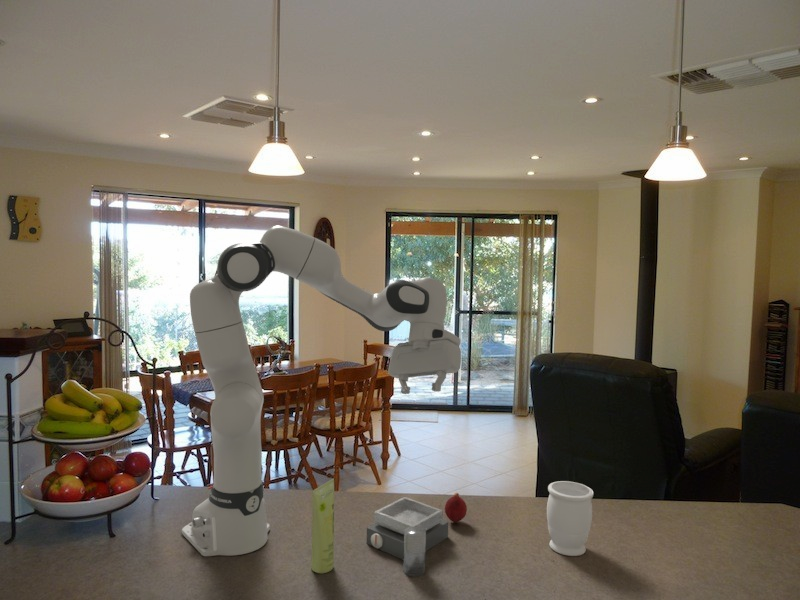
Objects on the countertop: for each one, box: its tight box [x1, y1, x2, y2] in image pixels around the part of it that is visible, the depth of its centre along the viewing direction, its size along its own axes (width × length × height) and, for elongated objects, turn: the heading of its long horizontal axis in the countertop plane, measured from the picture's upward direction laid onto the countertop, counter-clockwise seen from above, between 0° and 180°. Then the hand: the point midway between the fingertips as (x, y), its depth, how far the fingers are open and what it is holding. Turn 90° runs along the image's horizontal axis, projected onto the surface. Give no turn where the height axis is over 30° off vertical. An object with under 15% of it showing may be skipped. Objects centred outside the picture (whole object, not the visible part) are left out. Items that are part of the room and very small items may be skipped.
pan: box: [373, 496, 444, 535], centre depth 144 cm, size 12×12×3 cm
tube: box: [310, 478, 335, 574], centre depth 129 cm, size 6×5×20 cm
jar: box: [546, 480, 594, 557], centre depth 142 cm, size 11×10×15 cm
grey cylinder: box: [402, 527, 426, 578], centre depth 130 cm, size 5×5×9 cm
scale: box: [366, 519, 449, 561], centre depth 144 cm, size 13×17×4 cm
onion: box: [444, 492, 468, 524], centre depth 154 cm, size 6×6×8 cm
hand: (420, 392), depth 143 cm, fingers open, 8 cm apart
